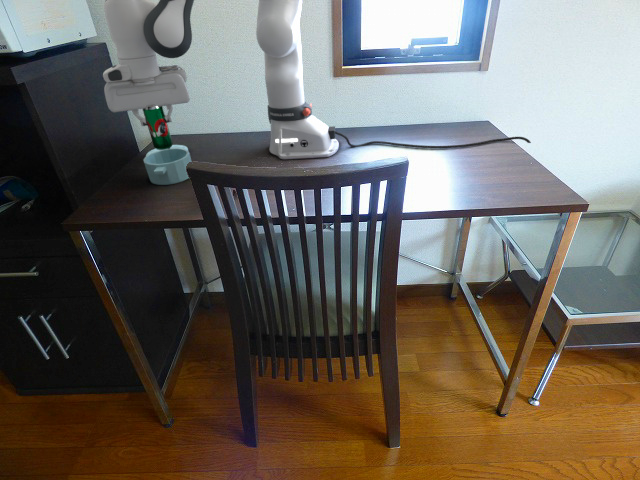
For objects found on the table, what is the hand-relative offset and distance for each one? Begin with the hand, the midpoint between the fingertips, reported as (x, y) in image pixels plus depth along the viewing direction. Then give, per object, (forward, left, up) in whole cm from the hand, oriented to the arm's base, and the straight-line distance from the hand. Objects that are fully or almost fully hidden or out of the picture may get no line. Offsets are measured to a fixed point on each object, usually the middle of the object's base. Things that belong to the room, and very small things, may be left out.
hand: (156, 123), depth 104 cm
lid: (+10, -15, -15) cm, 23 cm away
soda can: (0, 0, -7) cm, 7 cm away
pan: (0, 0, -15) cm, 15 cm away
